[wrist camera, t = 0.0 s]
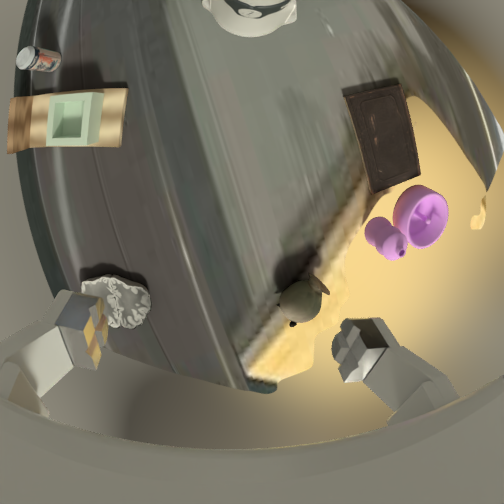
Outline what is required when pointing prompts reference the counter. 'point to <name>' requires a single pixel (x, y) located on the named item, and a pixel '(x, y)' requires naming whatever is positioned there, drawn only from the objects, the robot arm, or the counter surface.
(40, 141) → the board
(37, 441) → the robot arm
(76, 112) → the socket block
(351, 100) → the hardcover book
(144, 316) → the brain slice
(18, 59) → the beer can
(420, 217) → the container set
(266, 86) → the counter surface
